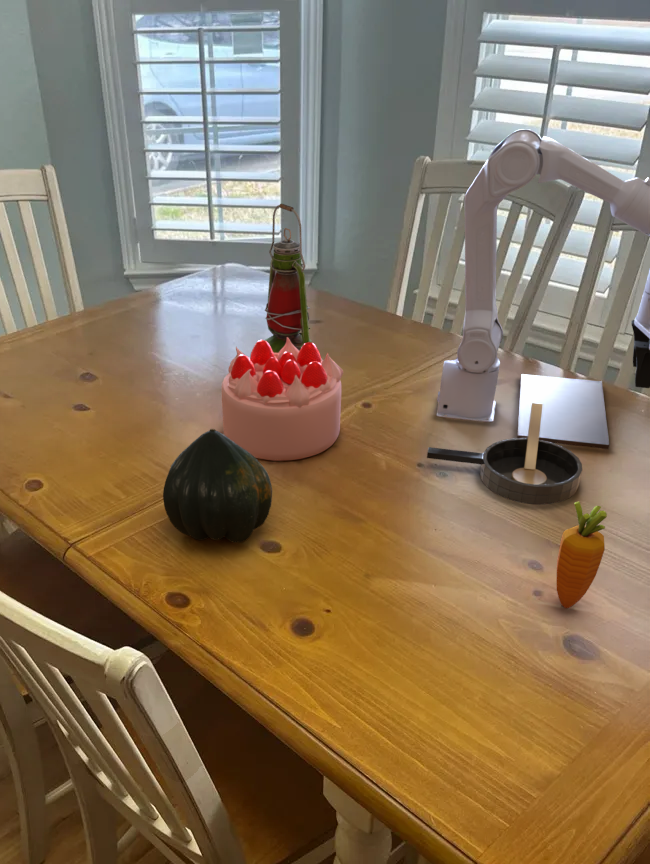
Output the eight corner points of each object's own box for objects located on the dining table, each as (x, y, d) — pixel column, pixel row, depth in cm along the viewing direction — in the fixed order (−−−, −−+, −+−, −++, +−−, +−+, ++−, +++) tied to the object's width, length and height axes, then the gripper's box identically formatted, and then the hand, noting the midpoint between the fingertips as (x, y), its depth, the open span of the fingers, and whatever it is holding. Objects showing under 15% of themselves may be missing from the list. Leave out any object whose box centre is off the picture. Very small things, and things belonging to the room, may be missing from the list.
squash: (222, 547, 104) (258, 434, 104) (130, 518, 111) (164, 413, 111) (268, 562, 116) (300, 462, 117) (183, 535, 123) (213, 441, 124)
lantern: (330, 370, 158) (335, 208, 141) (285, 384, 154) (284, 218, 136) (289, 347, 168) (289, 192, 150) (245, 359, 164) (240, 202, 146)
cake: (221, 409, 146) (217, 333, 138) (332, 403, 147) (335, 327, 139) (226, 465, 130) (221, 383, 122) (350, 458, 131) (354, 376, 123)
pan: (476, 499, 120) (479, 479, 118) (482, 452, 131) (485, 433, 129) (578, 512, 117) (583, 492, 115) (576, 463, 128) (580, 443, 126)
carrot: (538, 596, 102) (562, 496, 94) (576, 593, 103) (604, 492, 94) (553, 622, 98) (580, 520, 90) (593, 619, 99) (624, 517, 90)
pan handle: (426, 458, 126) (427, 452, 125) (428, 452, 127) (428, 446, 127) (482, 464, 124) (483, 459, 123) (483, 458, 125) (484, 453, 125)
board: (516, 441, 134) (517, 435, 133) (520, 380, 152) (521, 374, 152) (607, 451, 130) (609, 445, 130) (600, 387, 149) (601, 381, 148)
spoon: (545, 491, 121) (554, 449, 117) (510, 487, 122) (518, 445, 118) (545, 443, 132) (554, 403, 128) (513, 439, 134) (520, 400, 130)
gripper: (699, 311, 115) (672, 399, 123) (689, 278, 126) (665, 360, 134) (645, 307, 117) (621, 393, 125) (640, 274, 128) (618, 356, 136)
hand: (641, 376), depth 129 cm, fingers open, 7 cm apart
